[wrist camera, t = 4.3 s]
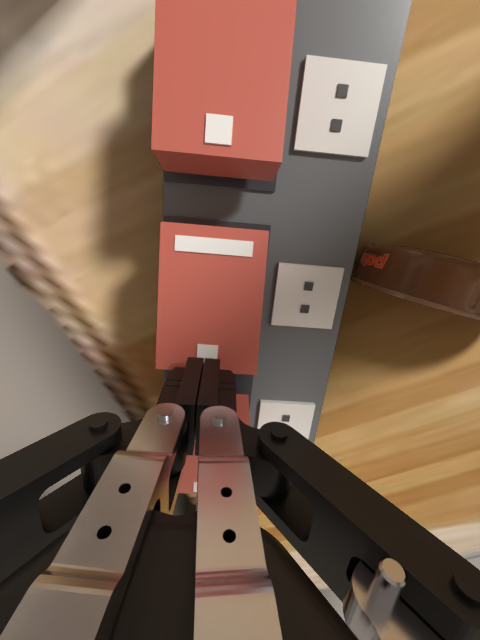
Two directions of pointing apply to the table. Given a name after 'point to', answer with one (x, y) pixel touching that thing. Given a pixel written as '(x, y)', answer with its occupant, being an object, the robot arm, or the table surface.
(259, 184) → the power strip
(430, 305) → the tin
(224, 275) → the block
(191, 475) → the rocker
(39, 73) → the table surface
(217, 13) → the block
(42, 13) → the table surface
